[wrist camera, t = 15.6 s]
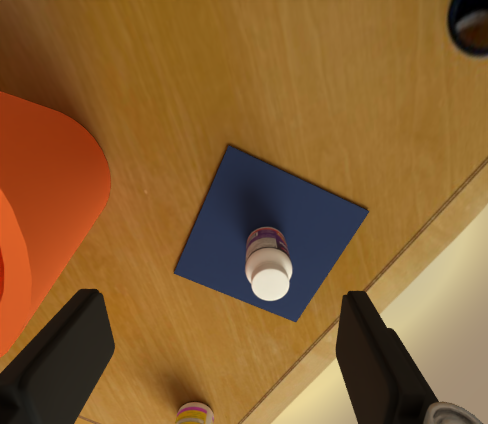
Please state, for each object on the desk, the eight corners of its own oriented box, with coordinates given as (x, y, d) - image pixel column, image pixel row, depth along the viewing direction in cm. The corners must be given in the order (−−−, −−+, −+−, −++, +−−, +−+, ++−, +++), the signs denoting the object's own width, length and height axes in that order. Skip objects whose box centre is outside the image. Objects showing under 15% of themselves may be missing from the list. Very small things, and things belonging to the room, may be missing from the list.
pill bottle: (288, 257, 39) (299, 302, 30) (250, 263, 39) (249, 310, 30) (282, 222, 37) (292, 258, 28) (243, 229, 37) (239, 267, 28)
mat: (228, 145, 34) (228, 145, 34) (368, 210, 36) (369, 211, 36) (174, 271, 41) (173, 273, 40) (295, 320, 43) (296, 322, 43)
